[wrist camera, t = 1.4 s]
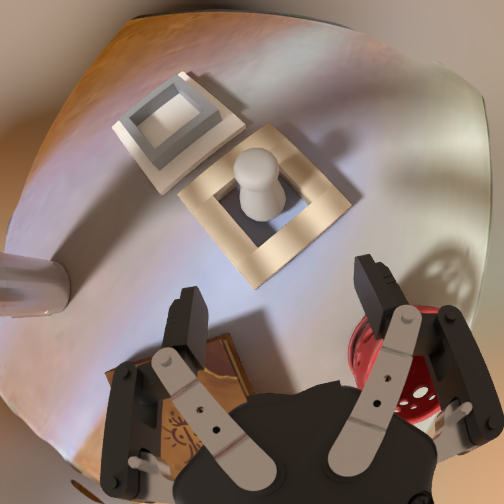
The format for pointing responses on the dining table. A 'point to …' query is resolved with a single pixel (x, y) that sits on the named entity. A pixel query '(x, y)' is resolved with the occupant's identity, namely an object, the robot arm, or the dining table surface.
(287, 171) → the birch holder block
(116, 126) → the socket plate
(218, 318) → the dining table surface
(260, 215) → the salt shaker
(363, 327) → the plant pot
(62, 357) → the dining table surface
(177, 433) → the diary
